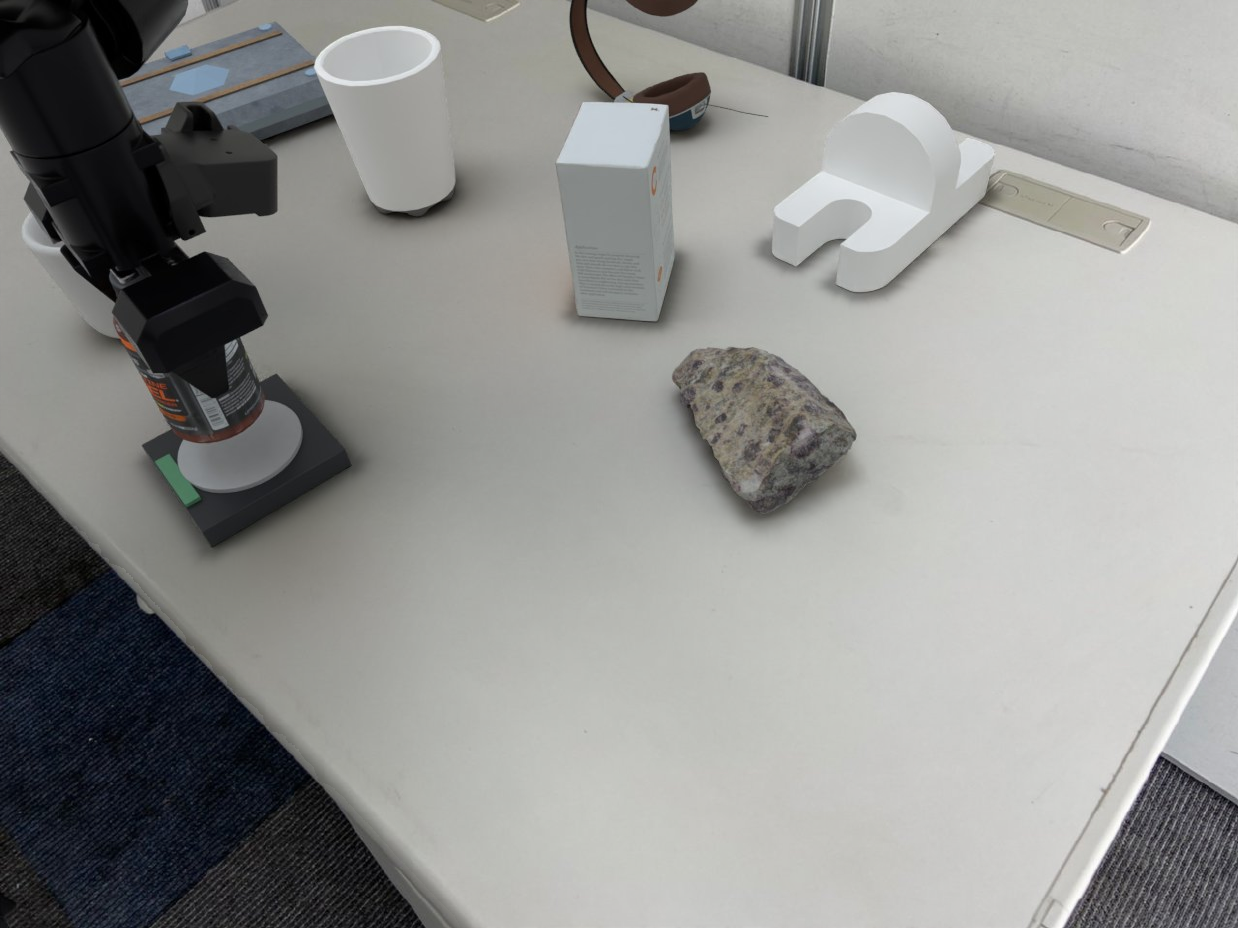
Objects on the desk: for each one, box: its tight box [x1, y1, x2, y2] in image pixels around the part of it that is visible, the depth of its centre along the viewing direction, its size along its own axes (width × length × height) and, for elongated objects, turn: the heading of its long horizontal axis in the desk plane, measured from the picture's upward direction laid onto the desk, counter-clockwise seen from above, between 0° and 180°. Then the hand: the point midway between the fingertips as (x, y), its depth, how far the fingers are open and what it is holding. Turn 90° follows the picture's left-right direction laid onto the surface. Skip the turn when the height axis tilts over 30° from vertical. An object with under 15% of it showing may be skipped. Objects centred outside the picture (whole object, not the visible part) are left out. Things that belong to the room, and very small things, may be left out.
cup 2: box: [314, 25, 456, 218], centre depth 81 cm, size 10×10×13 cm
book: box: [119, 21, 334, 141], centre depth 95 cm, size 21×16×5 cm
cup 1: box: [21, 211, 121, 340], centre depth 74 cm, size 13×9×9 cm
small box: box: [554, 101, 676, 322], centre depth 70 cm, size 8×6×13 cm
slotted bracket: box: [771, 91, 996, 293], centre depth 74 cm, size 18×10×10 cm, turn 137°
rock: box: [671, 346, 858, 514], centre depth 62 cm, size 13×6×10 cm
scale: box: [141, 373, 352, 548], centre depth 64 cm, size 10×10×2 cm
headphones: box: [568, 0, 769, 131], centre depth 85 cm, size 6×15×22 cm
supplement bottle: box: [109, 257, 265, 444], centre depth 57 cm, size 6×6×11 cm
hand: (198, 367), depth 59 cm, fingers closed on supplement bottle, 6 cm apart
